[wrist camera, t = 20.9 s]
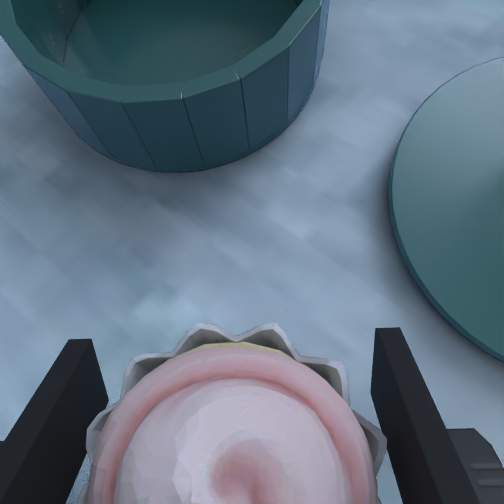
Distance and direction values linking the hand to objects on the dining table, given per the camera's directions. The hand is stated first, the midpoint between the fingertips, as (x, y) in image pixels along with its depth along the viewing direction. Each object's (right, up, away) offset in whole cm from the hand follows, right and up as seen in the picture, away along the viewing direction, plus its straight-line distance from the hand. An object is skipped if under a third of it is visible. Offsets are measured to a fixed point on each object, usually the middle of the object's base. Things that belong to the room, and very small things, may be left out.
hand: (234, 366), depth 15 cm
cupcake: (0, -4, +3) cm, 5 cm away
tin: (-3, +15, +9) cm, 18 cm away
